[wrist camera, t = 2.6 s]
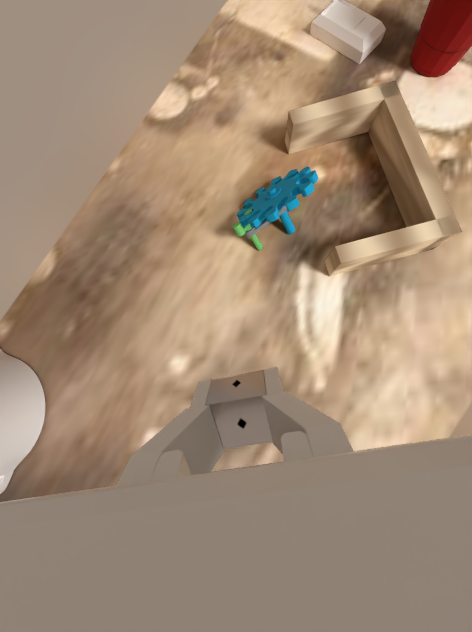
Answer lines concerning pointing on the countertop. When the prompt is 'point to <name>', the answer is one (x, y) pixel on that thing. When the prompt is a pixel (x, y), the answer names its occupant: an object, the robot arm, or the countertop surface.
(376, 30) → the soap bar
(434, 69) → the plastic cup
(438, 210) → the carrier pocket
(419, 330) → the countertop surface
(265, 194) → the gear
